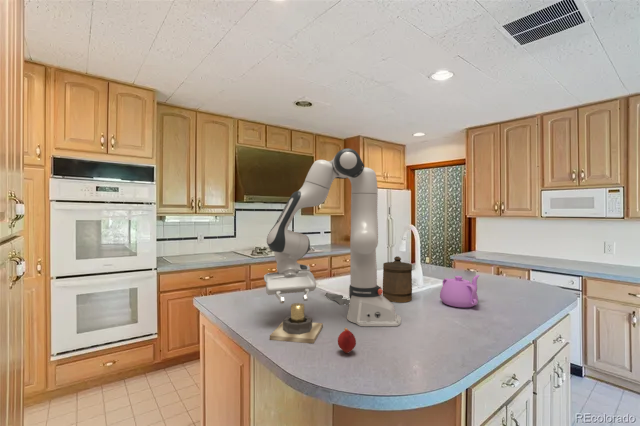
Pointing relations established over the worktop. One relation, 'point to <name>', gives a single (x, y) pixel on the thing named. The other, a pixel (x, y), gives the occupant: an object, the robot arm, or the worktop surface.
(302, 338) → the jig board
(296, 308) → the brass cylinder peg
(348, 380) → the worktop surface
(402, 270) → the wooden container
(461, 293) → the teapot
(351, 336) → the onion
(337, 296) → the cloth
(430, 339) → the worktop surface
